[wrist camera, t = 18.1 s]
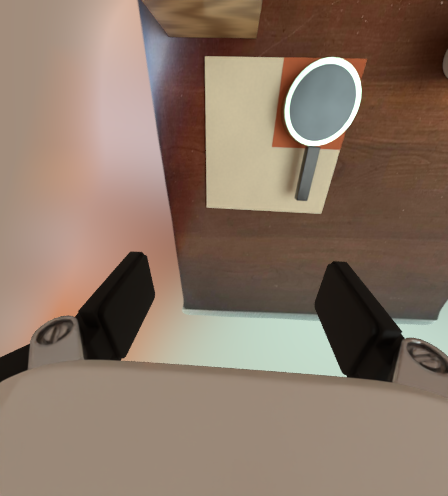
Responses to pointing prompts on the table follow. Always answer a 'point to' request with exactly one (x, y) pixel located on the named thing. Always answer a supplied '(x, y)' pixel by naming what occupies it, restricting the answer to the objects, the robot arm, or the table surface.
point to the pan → (319, 110)
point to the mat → (258, 137)
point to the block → (207, 17)
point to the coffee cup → (445, 64)
